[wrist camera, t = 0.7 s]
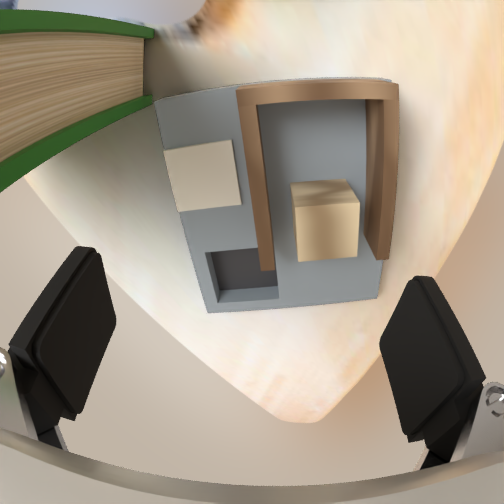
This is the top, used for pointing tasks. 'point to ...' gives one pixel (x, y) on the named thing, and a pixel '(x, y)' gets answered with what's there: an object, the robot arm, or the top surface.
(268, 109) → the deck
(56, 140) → the hardback book
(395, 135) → the brown wooden u-shaped frame
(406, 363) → the robot arm
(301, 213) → the block
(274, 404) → the top surface
